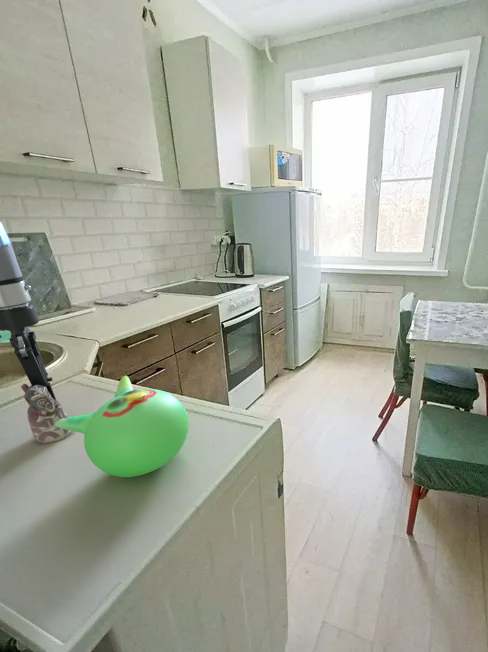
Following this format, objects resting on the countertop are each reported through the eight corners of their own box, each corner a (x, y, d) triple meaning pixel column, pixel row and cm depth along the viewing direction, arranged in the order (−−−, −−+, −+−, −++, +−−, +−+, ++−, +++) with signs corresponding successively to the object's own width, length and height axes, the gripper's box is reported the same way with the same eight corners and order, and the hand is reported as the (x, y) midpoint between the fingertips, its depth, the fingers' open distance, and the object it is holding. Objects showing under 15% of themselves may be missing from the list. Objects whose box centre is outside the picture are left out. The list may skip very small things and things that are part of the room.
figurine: (49, 447, 72) (24, 401, 66) (27, 436, 75) (1, 391, 68) (79, 426, 78) (59, 381, 71) (58, 417, 80) (37, 373, 73)
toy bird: (149, 505, 56) (127, 426, 50) (71, 483, 61) (42, 410, 55) (209, 442, 71) (198, 375, 65) (142, 429, 77) (126, 366, 70)
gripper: (31, 309, 64) (73, 418, 75) (34, 297, 74) (70, 395, 85) (-20, 316, 61) (31, 430, 72) (-10, 303, 71) (34, 404, 82)
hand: (52, 411), depth 78 cm, fingers closed
